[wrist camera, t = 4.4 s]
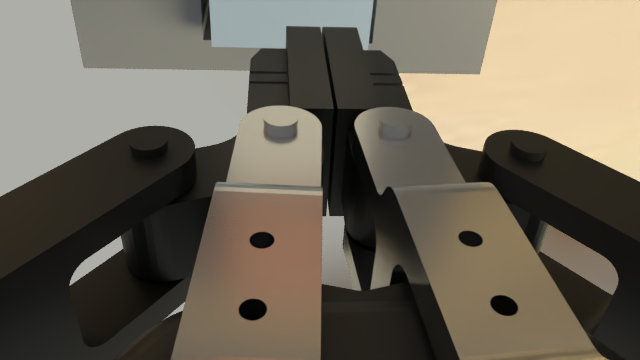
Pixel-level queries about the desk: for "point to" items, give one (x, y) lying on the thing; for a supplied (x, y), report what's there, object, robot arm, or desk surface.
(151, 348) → the robot arm
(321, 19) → the blue-grey block
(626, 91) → the desk surface
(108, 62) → the key console
